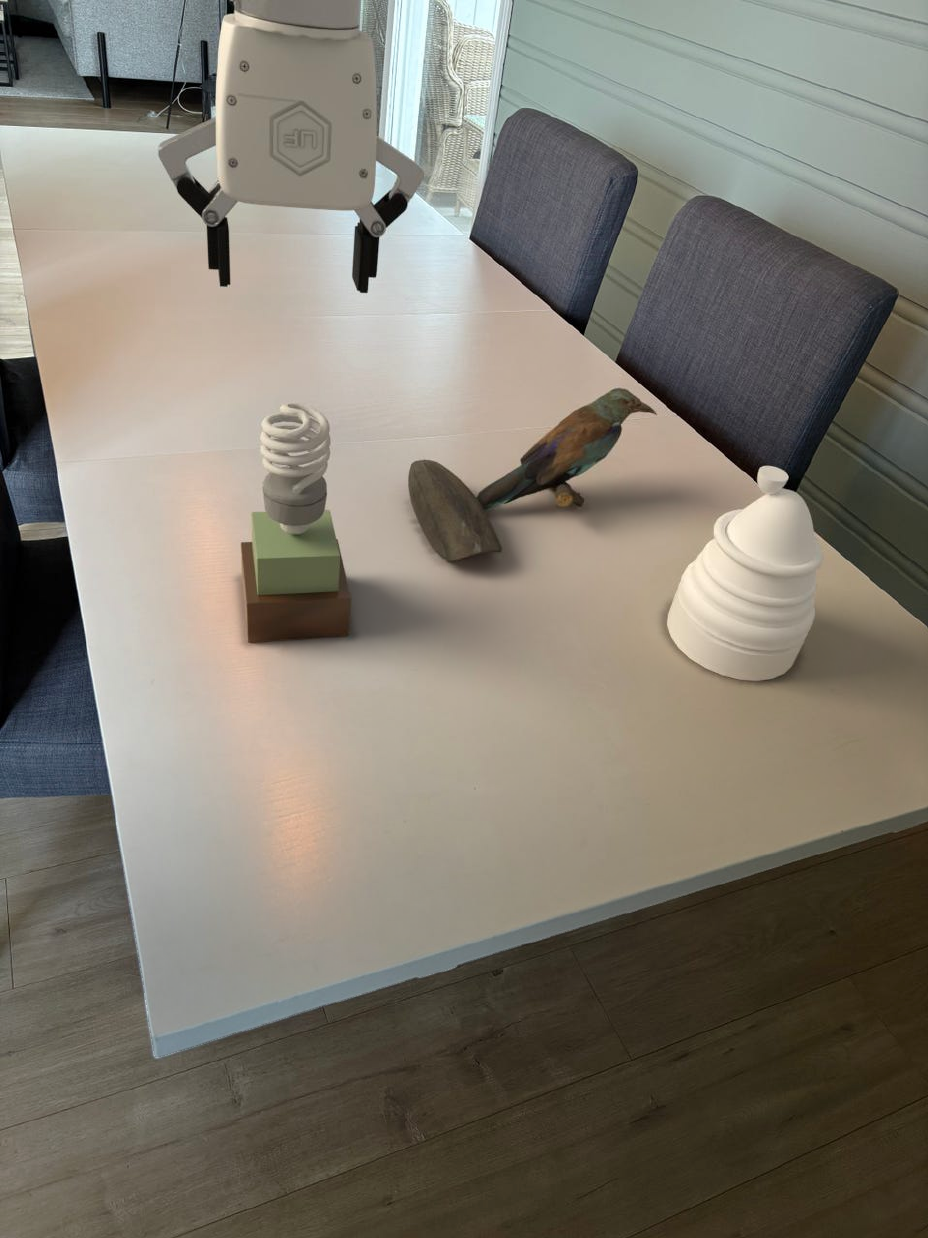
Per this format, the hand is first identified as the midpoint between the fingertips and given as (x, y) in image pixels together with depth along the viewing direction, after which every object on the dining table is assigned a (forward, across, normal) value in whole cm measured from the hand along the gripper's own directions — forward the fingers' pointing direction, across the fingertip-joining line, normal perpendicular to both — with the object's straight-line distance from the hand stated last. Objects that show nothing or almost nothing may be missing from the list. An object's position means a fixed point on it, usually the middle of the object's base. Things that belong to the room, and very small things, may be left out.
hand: (293, 282), depth 66 cm
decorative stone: (+31, +18, +13) cm, 38 cm away
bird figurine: (+30, +32, +16) cm, 47 cm away
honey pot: (+30, +43, -8) cm, 53 cm away
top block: (+26, +1, 0) cm, 26 cm away
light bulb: (+22, 0, 0) cm, 22 cm away
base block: (+31, +1, 0) cm, 31 cm away
